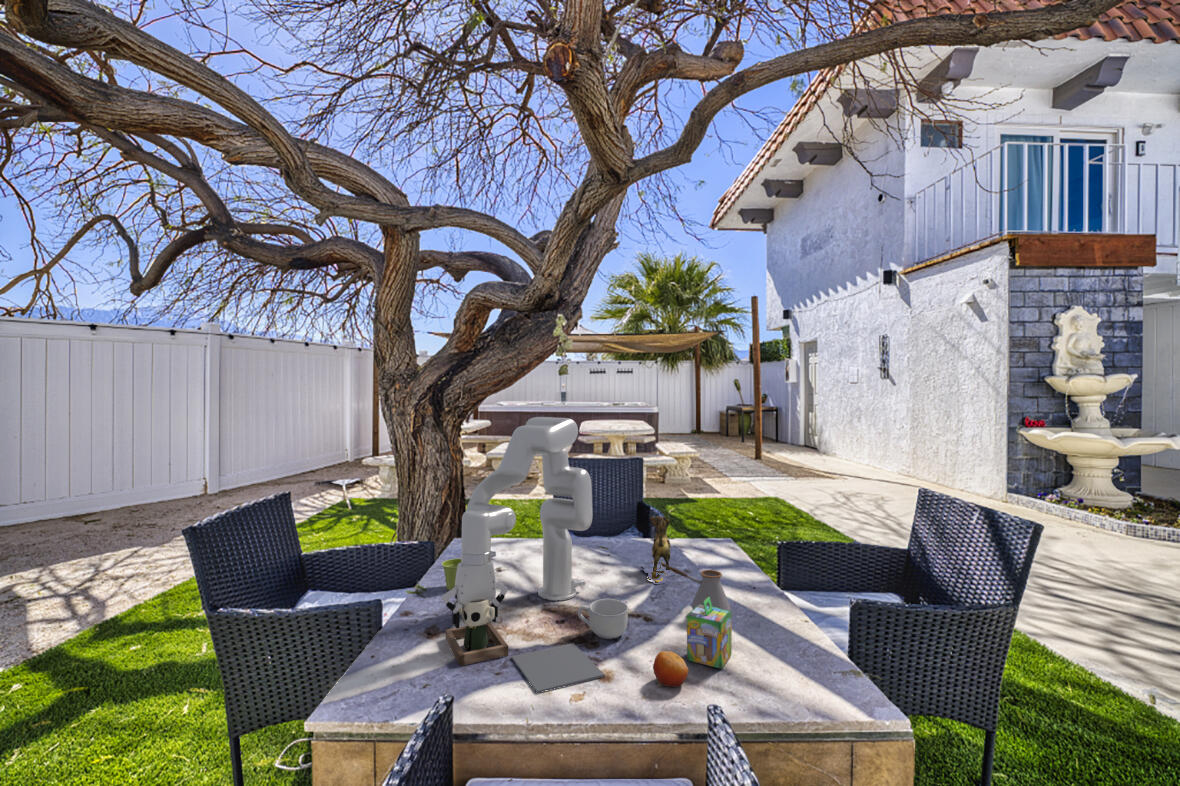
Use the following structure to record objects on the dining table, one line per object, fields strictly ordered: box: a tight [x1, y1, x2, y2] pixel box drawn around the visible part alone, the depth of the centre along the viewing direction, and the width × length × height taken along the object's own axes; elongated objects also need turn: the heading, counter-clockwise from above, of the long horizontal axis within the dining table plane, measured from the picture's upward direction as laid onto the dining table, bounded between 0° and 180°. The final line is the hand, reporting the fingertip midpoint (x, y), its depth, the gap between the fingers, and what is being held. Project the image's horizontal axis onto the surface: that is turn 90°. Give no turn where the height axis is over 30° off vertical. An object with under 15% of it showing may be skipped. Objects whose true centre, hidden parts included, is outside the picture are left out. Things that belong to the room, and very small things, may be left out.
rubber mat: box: [511, 642, 605, 694], centre depth 137 cm, size 17×18×1 cm
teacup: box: [577, 598, 629, 640], centre depth 156 cm, size 14×11×8 cm
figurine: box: [646, 515, 672, 583], centre depth 207 cm, size 13×25×20 cm, turn 171°
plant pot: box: [441, 558, 461, 591], centre depth 191 cm, size 9×9×9 cm
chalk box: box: [686, 596, 733, 670], centre depth 142 cm, size 9×9×15 cm
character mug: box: [458, 599, 495, 651], centre depth 147 cm, size 11×7×13 cm, turn 70°
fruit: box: [652, 650, 689, 688], centre depth 130 cm, size 8×8×8 cm
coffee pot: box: [659, 562, 731, 611], centre depth 169 cm, size 21×12×15 cm, turn 79°
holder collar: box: [445, 621, 509, 667], centre depth 147 cm, size 12×16×2 cm
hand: (475, 623), depth 147 cm, fingers open, 9 cm apart
